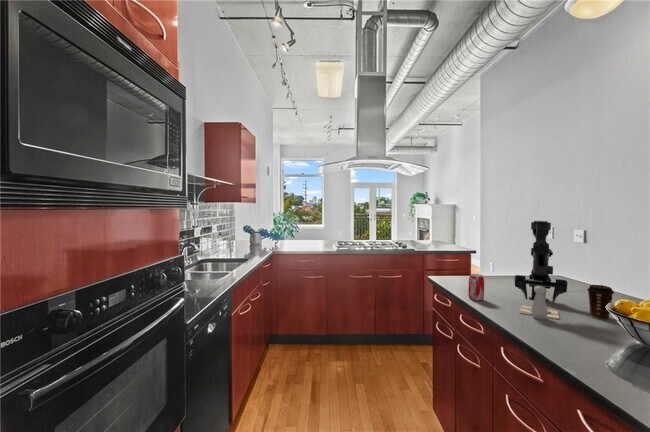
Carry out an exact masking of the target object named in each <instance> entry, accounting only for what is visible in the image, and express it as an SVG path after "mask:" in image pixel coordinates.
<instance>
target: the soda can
mask: <svg viewBox="0 0 650 432" xmlns="http://www.w3.org/2000/svg"><path fill="white" fill-rule="evenodd" d="M467 291H468V295H467V296H468V298H469V299H470V300H471V301H478V302H481V301H482V300H484V297H485V278H484V275H483V274H480V273H479V274H478V273H470V276H469V277H468V290H467Z"/></svg>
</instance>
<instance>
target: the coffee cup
mask: <svg viewBox="0 0 650 432" xmlns="http://www.w3.org/2000/svg"><path fill="white" fill-rule="evenodd" d="M587 293H588V304H589V306H588V307H589V317H590V318H593V319H598V320H609V319H610V312H608V311H607V310H606V308H605V306H606V305H607V304H608V303H613V302H612V301H613V295H614V294H615V292H614V290H613V288H612V287H610V286H607V285H603V284H599V285H598V284H590V285H589V287H588V288H587Z"/></svg>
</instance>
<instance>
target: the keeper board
mask: <svg viewBox="0 0 650 432" xmlns="http://www.w3.org/2000/svg"><path fill="white" fill-rule="evenodd" d="M531 309H532V305H525V304H521V306H520V310H519V314H520V315H528V316H533V315H532V313H531ZM547 312H548V315H547V317H546V318H545V319H547V318H548V319H554V320H560V315H559V310H558V309H555V308H548V307H547Z"/></svg>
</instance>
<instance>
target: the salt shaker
mask: <svg viewBox="0 0 650 432" xmlns="http://www.w3.org/2000/svg"><path fill="white" fill-rule="evenodd" d="M534 291H535V292H536V294H535V298H534V300H533V302H532V305H531V306H532V309H531V313H532V315H531V316H532V317H533V319H536V320H541V321H543V320H546V319H547V318H546V317H547V315H548V312H547V308H548V306H547V302H546V300H545V293H546V294H547V289H546V288H545V287H542V286H535V287H534Z"/></svg>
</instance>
